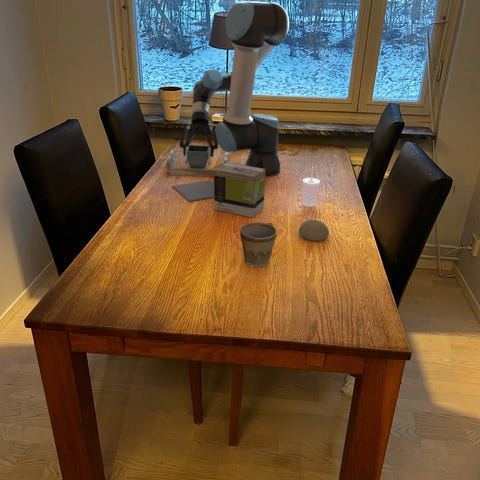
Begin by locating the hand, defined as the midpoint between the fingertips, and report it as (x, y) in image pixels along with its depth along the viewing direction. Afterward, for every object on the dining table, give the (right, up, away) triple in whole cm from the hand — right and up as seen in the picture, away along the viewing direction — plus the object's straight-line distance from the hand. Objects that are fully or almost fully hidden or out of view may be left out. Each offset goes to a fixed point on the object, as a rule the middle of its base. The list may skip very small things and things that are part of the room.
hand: (197, 162), depth 192 cm
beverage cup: (+42, -19, -25) cm, 53 cm away
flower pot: (0, -2, +5) cm, 5 cm away
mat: (+3, -14, -17) cm, 22 cm away
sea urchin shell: (+40, -31, -47) cm, 70 cm away
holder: (0, -2, +5) cm, 5 cm away
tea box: (+17, -22, -31) cm, 41 cm away
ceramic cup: (+23, -38, -62) cm, 76 cm away
